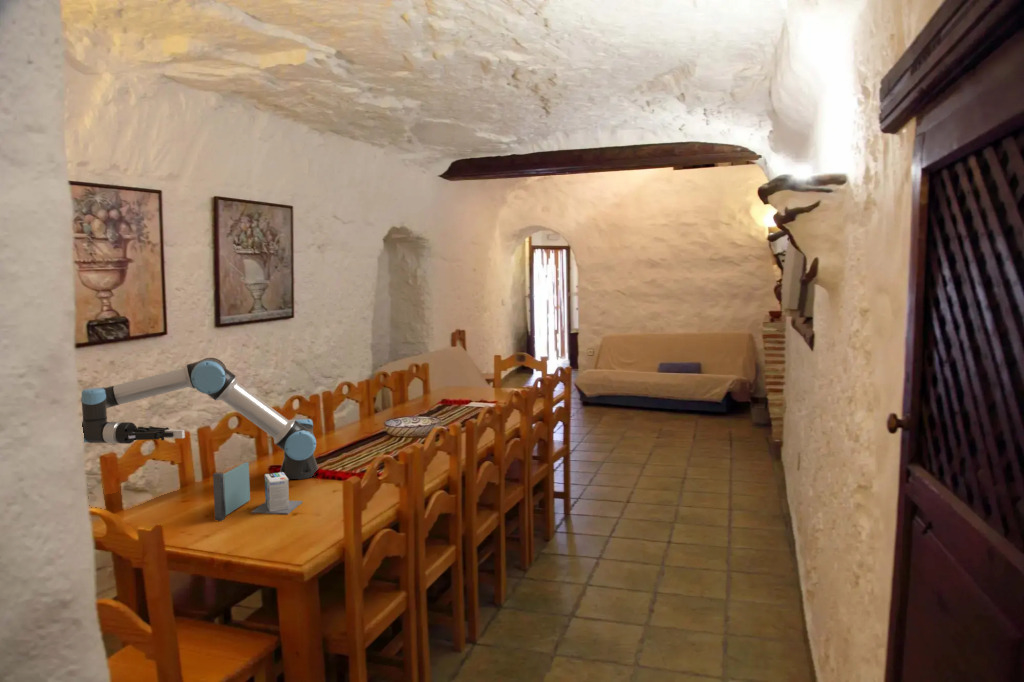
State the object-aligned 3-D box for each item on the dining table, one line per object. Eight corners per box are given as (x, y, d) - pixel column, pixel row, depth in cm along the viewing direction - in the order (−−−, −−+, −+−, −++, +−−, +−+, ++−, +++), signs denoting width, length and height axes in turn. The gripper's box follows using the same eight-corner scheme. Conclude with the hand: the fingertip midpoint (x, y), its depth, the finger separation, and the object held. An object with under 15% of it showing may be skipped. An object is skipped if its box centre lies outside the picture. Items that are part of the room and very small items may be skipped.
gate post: (218, 518, 241) (216, 472, 240) (224, 518, 241) (222, 472, 240) (215, 520, 239) (213, 474, 238) (221, 520, 239) (219, 474, 238)
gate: (247, 499, 260) (245, 462, 258) (250, 500, 260) (248, 462, 258) (221, 516, 242) (219, 476, 241) (224, 516, 242) (222, 476, 241)
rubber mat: (268, 501, 259) (268, 499, 259) (302, 502, 258) (302, 500, 258) (251, 513, 247) (251, 511, 247) (287, 514, 245) (287, 512, 245)
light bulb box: (265, 503, 255) (263, 473, 254) (284, 500, 258) (283, 471, 257) (269, 512, 246) (268, 481, 245) (290, 509, 249) (289, 478, 248)
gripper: (133, 438, 262) (193, 440, 259) (109, 447, 249) (173, 449, 246) (131, 418, 261) (193, 420, 259) (108, 426, 248) (172, 427, 246)
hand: (183, 434), depth 252 cm, fingers closed
